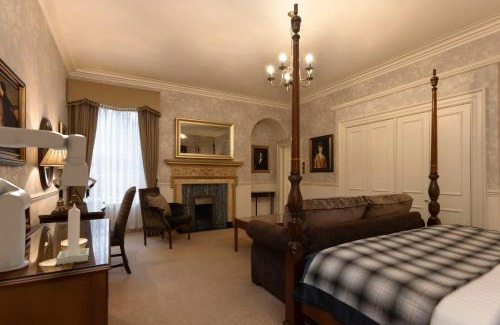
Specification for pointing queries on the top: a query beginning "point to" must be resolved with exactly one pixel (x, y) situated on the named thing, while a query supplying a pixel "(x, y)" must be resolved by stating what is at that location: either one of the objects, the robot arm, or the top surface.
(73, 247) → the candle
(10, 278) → the top surface
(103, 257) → the top surface
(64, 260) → the tray
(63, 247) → the top surface
